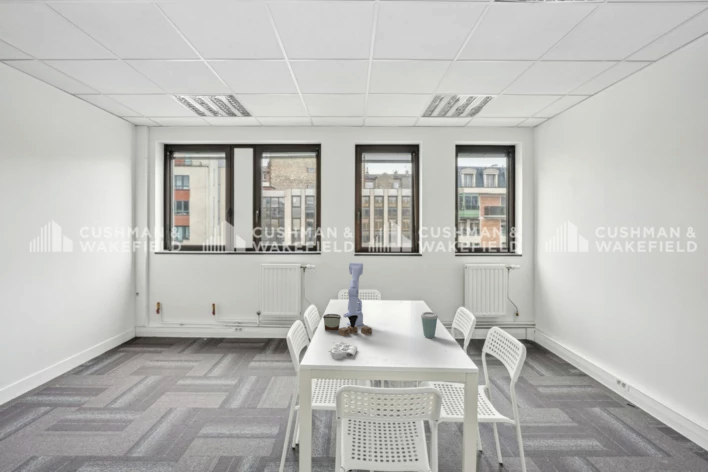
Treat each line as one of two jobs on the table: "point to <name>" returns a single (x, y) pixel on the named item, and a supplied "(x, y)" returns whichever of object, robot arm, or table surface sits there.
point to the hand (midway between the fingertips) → (352, 326)
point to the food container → (331, 322)
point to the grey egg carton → (342, 350)
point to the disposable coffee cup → (429, 324)
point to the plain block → (353, 329)
